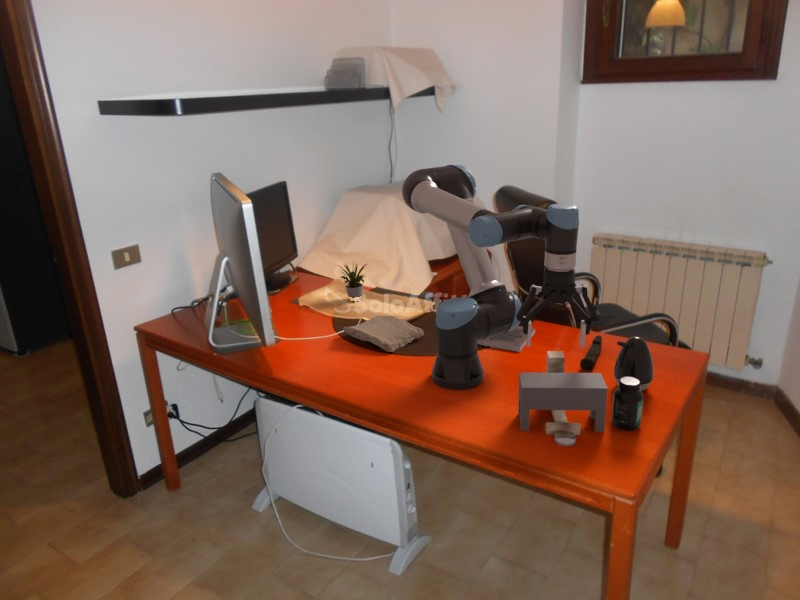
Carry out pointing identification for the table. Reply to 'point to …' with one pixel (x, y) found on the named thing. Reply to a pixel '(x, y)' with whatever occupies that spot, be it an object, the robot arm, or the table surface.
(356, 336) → the flat stone slab
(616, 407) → the supplement bottle
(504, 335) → the picture frame
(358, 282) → the house plant
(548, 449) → the table surface
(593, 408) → the grey step stool
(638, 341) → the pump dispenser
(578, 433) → the ash-wood pusher
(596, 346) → the hand tool
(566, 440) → the steel token
